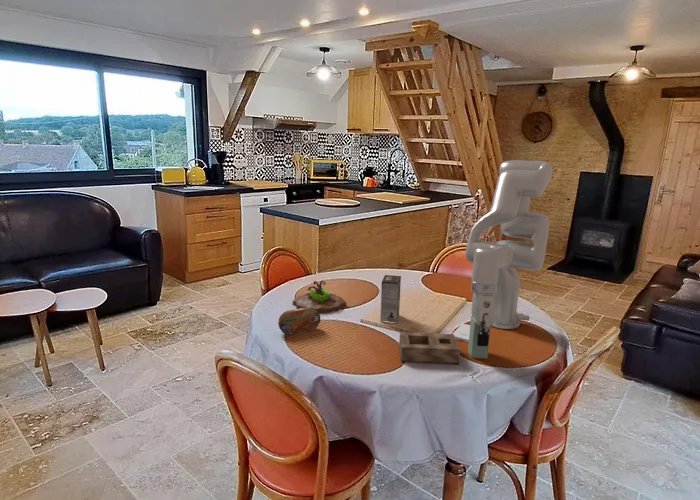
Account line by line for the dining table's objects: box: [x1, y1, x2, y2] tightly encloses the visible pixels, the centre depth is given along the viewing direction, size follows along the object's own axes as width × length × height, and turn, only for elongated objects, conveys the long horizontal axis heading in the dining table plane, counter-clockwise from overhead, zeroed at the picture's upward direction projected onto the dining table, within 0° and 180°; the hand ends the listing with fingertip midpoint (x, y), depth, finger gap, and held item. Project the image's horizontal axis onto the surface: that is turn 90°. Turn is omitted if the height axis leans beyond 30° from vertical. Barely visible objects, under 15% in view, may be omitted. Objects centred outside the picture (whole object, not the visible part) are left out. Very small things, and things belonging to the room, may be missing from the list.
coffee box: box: [379, 274, 402, 323], centre depth 167 cm, size 9×6×16 cm
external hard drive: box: [452, 323, 470, 344], centre depth 156 cm, size 2×8×12 cm
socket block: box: [398, 331, 461, 366], centre depth 139 cm, size 18×11×5 cm, turn 87°
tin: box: [278, 307, 321, 336], centre depth 155 cm, size 15×3×8 cm, turn 117°
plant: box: [292, 279, 347, 315], centre depth 181 cm, size 20×20×11 cm
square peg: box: [467, 315, 492, 359], centre depth 140 cm, size 5×5×12 cm
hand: (478, 339), depth 140 cm, fingers open, 8 cm apart
